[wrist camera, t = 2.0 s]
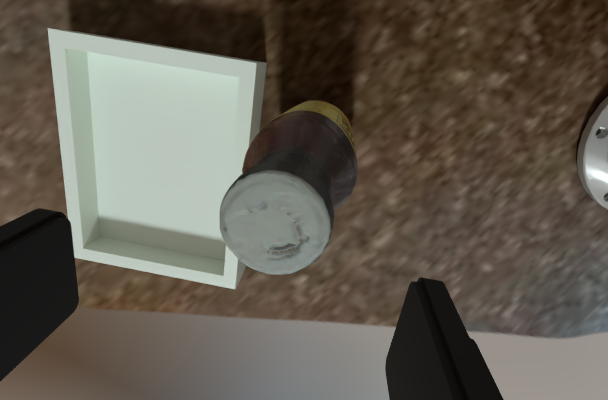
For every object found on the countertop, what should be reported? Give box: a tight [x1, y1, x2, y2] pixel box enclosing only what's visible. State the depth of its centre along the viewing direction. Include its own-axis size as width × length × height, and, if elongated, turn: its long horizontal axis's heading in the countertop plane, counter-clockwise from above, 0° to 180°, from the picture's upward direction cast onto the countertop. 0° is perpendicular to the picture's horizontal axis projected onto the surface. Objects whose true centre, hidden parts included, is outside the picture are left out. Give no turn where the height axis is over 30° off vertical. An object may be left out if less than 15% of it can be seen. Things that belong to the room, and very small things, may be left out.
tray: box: [48, 28, 267, 289], centre depth 32 cm, size 16×20×4 cm
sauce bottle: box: [220, 100, 357, 275], centre depth 22 cm, size 6×6×20 cm
